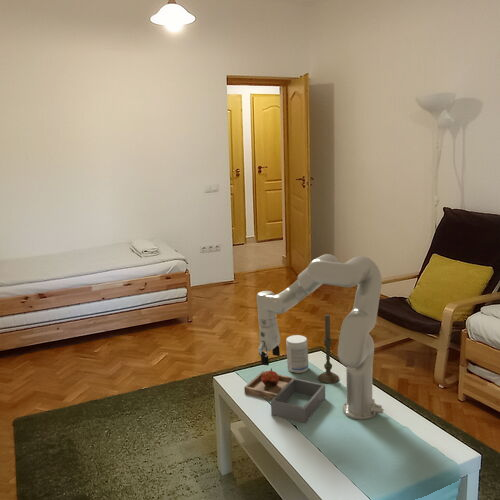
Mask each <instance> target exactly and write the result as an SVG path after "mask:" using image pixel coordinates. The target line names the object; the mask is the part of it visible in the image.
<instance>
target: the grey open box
mask: <svg viewBox="0 0 500 500" xmlns="http://www.w3.org/2000/svg"><path fill="white" fill-rule="evenodd" d="M292 378H293V379H292V380H291V381H290V382H289V383H288V384H287V385H286V386H285V387H284V388H283V389H282V390H281V391H280V392H279V393H278V394H277V395H276V396H275V397H274V398H273V399H272V400H271V399H270V412H271V413H270V414H271V416H273V417H278V418H281V419H285V420H289V421H293V422H295V423H300V424H304V425H306V424H307V423H308V421H309V420H310V419H311V418H312V417H313V415H314V414H315V412H317V410H318V409H319V407H320V406H321V405H322V404H323V403H324V401H325V400H326V384H324V383H318V382H313V381H308V380H305V379H299V378H296V377H292ZM295 394H299V395H303V396H307V397H311V398H310V399H309V400H308V401H307V403H306V404H304V406H298V405H295V404H291V403H288V401H289V400H290V399H291V398H292V397H293V396H294V395H295Z"/></svg>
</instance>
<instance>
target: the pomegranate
mask: <svg viewBox="0 0 500 500" xmlns="http://www.w3.org/2000/svg"><path fill="white" fill-rule="evenodd" d="M261 380H262V382H263V383H264V385H266V386H268V390H269V386H276V385H277V384H278V382H279V377H278V373H277V372H276V371H274V370H273V368H270V370H267V371H265V372H264V373H263V374H262V377H261Z"/></svg>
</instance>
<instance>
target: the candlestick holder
mask: <svg viewBox="0 0 500 500" xmlns="http://www.w3.org/2000/svg"><path fill="white" fill-rule="evenodd" d="M322 339H323V345H324V346H325V358H326V359H325V361H326V362H325V363H324V365H323V366H324V369H325V372H323V373H320V374H318V376H317V380H318V381H319V382H320V383H321V384H325V385H326V384H327V385H328V384H329V385H330V384H336V383H338V382H339V381H340V377H339V375H338V374H336V373H334V372H332V368H333V363H331V361H330V359H331V348H330V347H331V346H332V341H333V338H332V337H331V315H330V314H328V313H326V314H325V315H324V337H323V338H322Z"/></svg>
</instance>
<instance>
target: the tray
mask: <svg viewBox="0 0 500 500" xmlns="http://www.w3.org/2000/svg"><path fill="white" fill-rule="evenodd" d="M264 372H266V371H265V370H262V371H261V372H260V373H259V374H257V376H255V377H254V378H253V379H251V381H250V382H248V384H246V385H245V386H244V388H243V389H244V394H247V395H252V396H256V397H259V398H264V399H268V400H270V401H271V400H272V399H273V398H274V397H275V396H276V395H277V394H278V393H279V392H280V391H281V390H282V389H283V388H284V387H285V386H286V385H287V384H288V383H289V382H290V381H291V380H292V379H293V378H294V377H292V376H286V375H283V374H278V373H277V374H278V377H279V382H278V384H277V385H276V386H269V390H268V386H266V385H264V383H263V382H262V380H261V377H262V374H263V373H264Z"/></svg>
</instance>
